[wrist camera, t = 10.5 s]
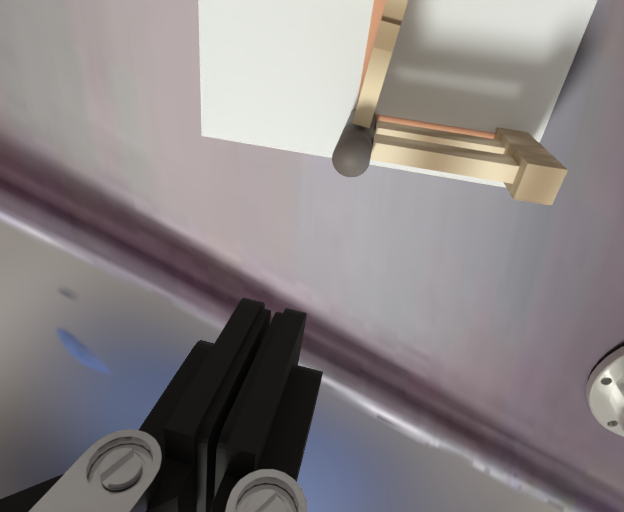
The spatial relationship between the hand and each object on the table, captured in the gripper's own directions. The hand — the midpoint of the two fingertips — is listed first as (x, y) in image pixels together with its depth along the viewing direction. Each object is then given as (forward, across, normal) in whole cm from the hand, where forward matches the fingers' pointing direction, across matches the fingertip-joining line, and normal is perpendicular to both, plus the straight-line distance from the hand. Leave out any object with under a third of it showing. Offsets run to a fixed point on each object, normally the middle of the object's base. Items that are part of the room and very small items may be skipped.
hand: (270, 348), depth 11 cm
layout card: (+23, 0, -6) cm, 24 cm away
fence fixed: (+23, -5, -1) cm, 23 cm away
